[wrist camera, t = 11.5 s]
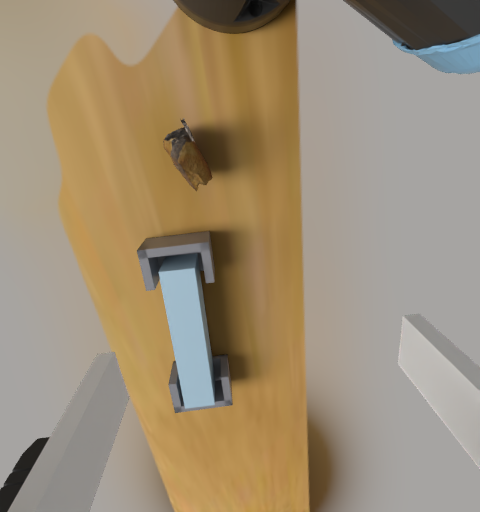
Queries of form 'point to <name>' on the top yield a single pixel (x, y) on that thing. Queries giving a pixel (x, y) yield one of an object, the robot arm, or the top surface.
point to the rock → (187, 156)
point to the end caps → (200, 243)
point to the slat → (188, 328)
